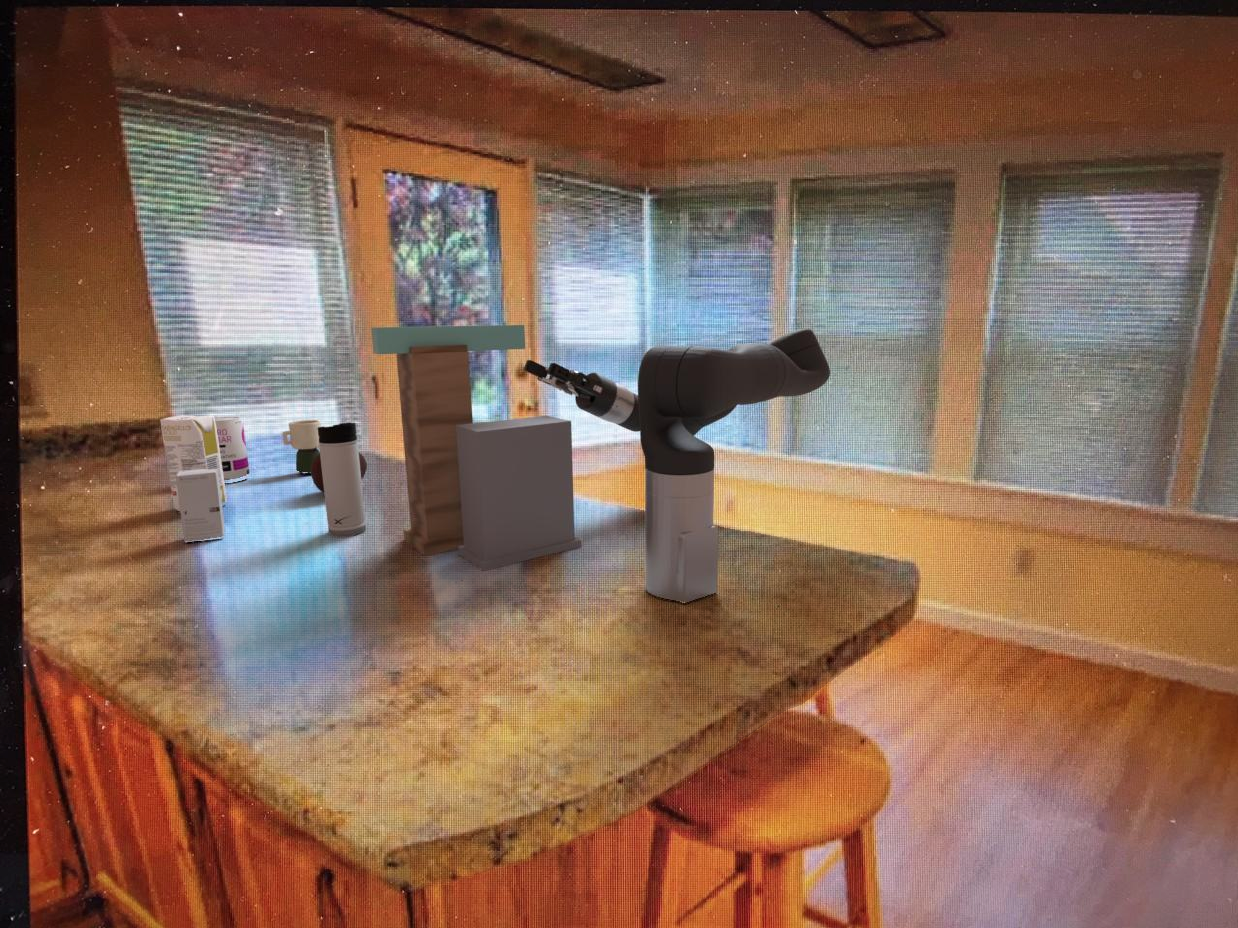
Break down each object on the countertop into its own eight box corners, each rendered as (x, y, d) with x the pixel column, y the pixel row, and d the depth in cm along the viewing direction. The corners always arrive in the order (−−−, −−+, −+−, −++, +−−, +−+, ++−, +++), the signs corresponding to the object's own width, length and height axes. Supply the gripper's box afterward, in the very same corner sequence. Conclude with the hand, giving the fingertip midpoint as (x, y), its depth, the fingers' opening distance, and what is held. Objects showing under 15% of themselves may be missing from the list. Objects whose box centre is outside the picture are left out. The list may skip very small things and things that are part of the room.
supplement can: (246, 475, 167) (238, 415, 164) (253, 480, 161) (245, 418, 158) (208, 480, 162) (199, 418, 159) (214, 486, 156) (205, 422, 153)
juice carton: (206, 514, 133) (192, 419, 129) (168, 513, 134) (152, 419, 130) (233, 504, 140) (220, 414, 136) (196, 503, 141) (183, 413, 137)
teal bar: (525, 348, 114) (524, 324, 113) (378, 354, 102) (376, 327, 101) (516, 348, 117) (515, 324, 116) (373, 353, 105) (371, 327, 104)
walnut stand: (488, 542, 114) (476, 345, 107) (424, 555, 108) (408, 347, 101) (464, 528, 122) (452, 343, 115) (404, 540, 116) (387, 346, 109)
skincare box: (184, 544, 115) (173, 475, 112) (187, 537, 119) (176, 470, 116) (225, 539, 118) (215, 471, 115) (227, 532, 122) (217, 466, 119)
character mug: (326, 467, 174) (320, 418, 172) (337, 471, 169) (332, 420, 167) (282, 474, 167) (275, 423, 164) (293, 479, 162) (286, 426, 159)
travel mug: (342, 539, 116) (330, 425, 112) (322, 533, 120) (309, 422, 116) (374, 530, 121) (363, 420, 117) (353, 524, 125) (342, 418, 121)
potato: (379, 486, 153) (375, 442, 151) (348, 502, 141) (343, 453, 139) (334, 485, 155) (329, 441, 153) (299, 500, 142) (293, 452, 140)
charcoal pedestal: (581, 546, 111) (578, 421, 106) (482, 570, 101) (474, 433, 96) (552, 532, 119) (547, 414, 114) (457, 553, 109) (449, 425, 104)
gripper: (620, 422, 124) (550, 389, 114) (578, 412, 135) (511, 382, 125) (634, 384, 124) (565, 348, 114) (591, 378, 135) (526, 345, 125)
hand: (537, 366), depth 120 cm, fingers open, 8 cm apart
